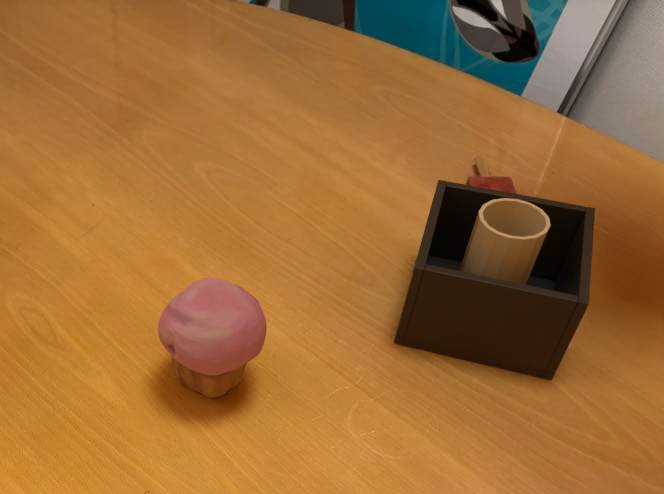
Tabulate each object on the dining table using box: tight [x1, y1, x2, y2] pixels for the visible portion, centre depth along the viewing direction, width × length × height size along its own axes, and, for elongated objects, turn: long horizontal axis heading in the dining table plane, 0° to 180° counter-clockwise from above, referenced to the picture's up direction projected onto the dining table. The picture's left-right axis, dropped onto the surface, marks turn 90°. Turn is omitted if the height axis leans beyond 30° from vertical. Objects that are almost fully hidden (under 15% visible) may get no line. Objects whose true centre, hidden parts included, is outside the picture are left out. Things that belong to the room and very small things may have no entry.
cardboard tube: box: [459, 198, 551, 285], centre depth 77 cm, size 6×6×10 cm
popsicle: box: [465, 155, 518, 194], centre depth 92 cm, size 4×2×15 cm
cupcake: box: [157, 277, 267, 399], centre depth 73 cm, size 9×9×10 cm
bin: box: [393, 179, 596, 381], centre depth 78 cm, size 14×14×9 cm
